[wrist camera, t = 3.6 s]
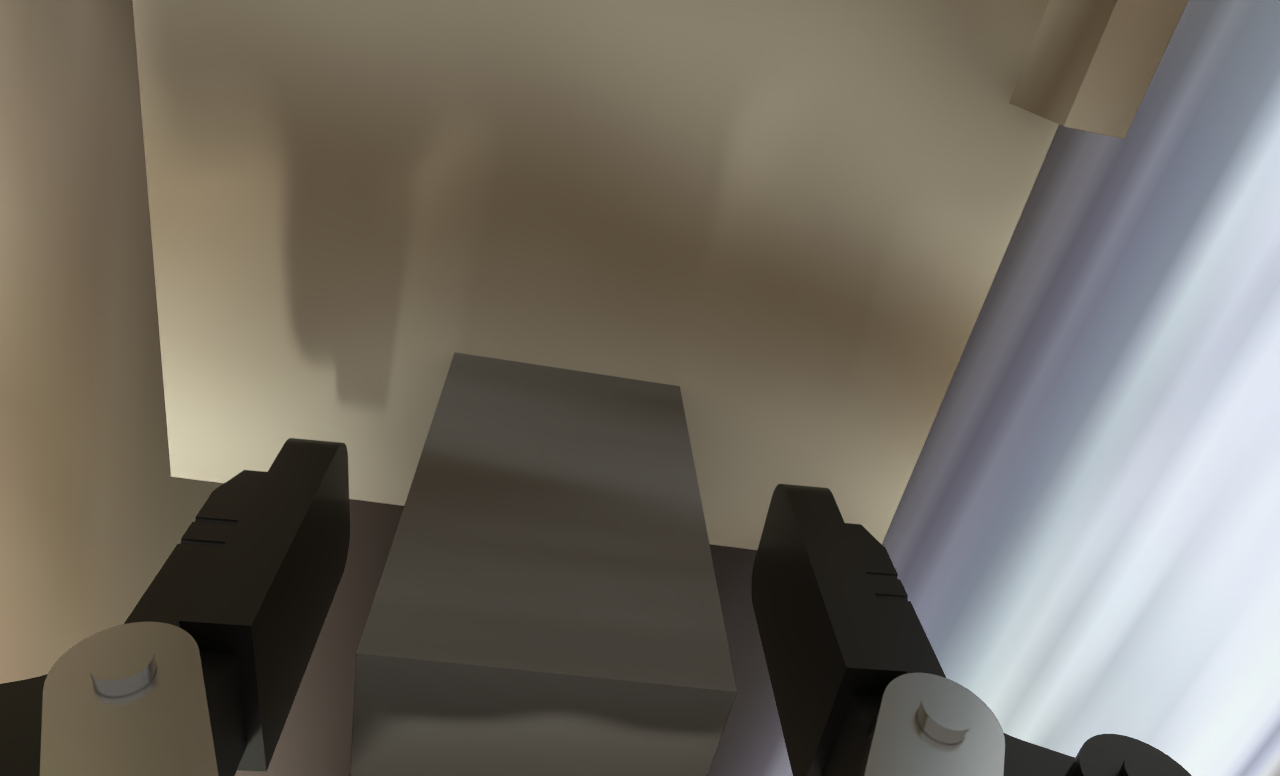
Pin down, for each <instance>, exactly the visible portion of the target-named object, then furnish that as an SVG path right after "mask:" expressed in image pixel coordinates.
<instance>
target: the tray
mask: <svg viewBox="0 0 1280 776" xmlns="http://www.w3.org/2000/svg"><path fill="white" fill-rule="evenodd" d="M132 1H133V14H134V26H135V38H136V50H137V63H138V75H139V87H140V100H141V112H142V124H143V136H144V149H145V161H146V173H147V186H148V198H149V210H150V223H151V235H152V247H153V259H154V272H155V284H156V296H157V309H158V321H159V333H160V345H161V358H162V370H163V382H164V395H165V407H166V419H167V432H168V444H169V456H170V468H171V477H179V478H187V479H195V480H203V481H211V482H219V483H226V482H227V481H229V480H230V479H232V478H233V477H234V476H236V475H237V474H239V473H240V472H242V471H243V470H252V471H263V472H268V470H269V469H270V467H271V465H272V464H273V462H274V460H275V458H276V457H277V455H278V453H279V452H280V450H281V448H282V447H283V445H284V443H285V442H286V441H287V440H288V439H289V438H297V439H308V440H319V441H330V442H340V443H345V445H346V447H347V452H348V474H349V499H354V500H362V501H370V502H378V503H386V504H394V505H401V506H404V509H403V512H402V515H401V518H400V521H399V524H398V527H397V530H396V533H395V536H394V539H393V542H392V545H391V548H390V551H389V554H388V557H387V561H386V564H385V567H384V570H383V573H382V576H381V579H380V582H379V585H378V588H377V591H376V594H375V597H374V600H373V603H372V606H371V609H370V613H369V616H368V619H367V622H366V625H365V628H364V631H363V634H362V637H361V640H360V643H359V646H358V649H357V652H356V668H355V687H354V707H353V727H352V746H351V766H350V776H707V775H708V772H709V769H710V767H711V764H712V761H713V758H714V755H715V753H716V750H717V747H718V744H719V741H720V739H721V736H722V733H723V730H724V727H725V724H726V722H727V719H728V716H729V713H730V710H731V708H732V705H733V702H734V699H735V696H736V694H737V688H736V683H735V678H734V672H733V667H732V662H731V657H730V651H729V646H728V641H727V635H726V630H725V625H724V619H723V614H722V609H721V603H720V598H719V593H718V587H717V582H716V577H715V571H714V566H713V561H712V555H711V550H710V545H709V544H711V545H719V546H727V547H735V548H743V549H751V550H758V547H759V543H760V539H761V535H762V532H763V528H764V524H765V520H766V517H767V513H768V509H769V506H770V502H771V498H772V495H773V492H774V490H775V488H776V486H777V485H778V484H789V485H800V486H811V487H822V488H828V489H830V491H831V492H832V494H833V496H834V499H835V501H836V503H837V506H838V508H839V510H840V513H841V515H842V518H843V520H844V522H845V523H851V524H861V525H862V526H863V527H864V528H865V529H866V530H867V531H868V532H869V533H870V534H871V535H872V536H873V537H874V538H875V539H876V540H877V541H878V542H879V543H880V544H881V545H882V543H883V540H884V538H885V536H886V533H887V531H888V529H889V526H890V524H891V521H892V519H893V517H894V514H895V512H896V510H897V507H898V505H899V502H900V500H901V498H902V495H903V493H904V491H905V488H906V486H907V484H908V481H909V479H910V476H911V474H912V472H913V469H914V467H915V465H916V462H917V460H918V457H919V455H920V453H921V450H922V448H923V446H924V443H925V441H926V439H927V436H928V434H929V431H930V429H931V427H932V424H933V422H934V420H935V417H936V415H937V412H938V410H939V408H940V405H941V403H942V401H943V398H944V396H945V393H946V391H947V389H948V386H949V384H950V382H951V379H952V377H953V375H954V372H955V370H956V367H957V365H958V363H959V360H960V358H961V356H962V353H963V351H964V348H965V346H966V344H967V341H968V339H969V337H970V334H971V332H972V330H973V327H974V325H975V322H976V320H977V318H978V315H979V313H980V311H981V308H982V306H983V303H984V301H985V299H986V296H987V294H988V292H989V289H990V287H991V285H992V282H993V280H994V277H995V275H996V273H997V270H998V268H999V266H1000V263H1001V261H1002V258H1003V256H1004V254H1005V251H1006V249H1007V247H1008V244H1009V242H1010V239H1011V237H1012V235H1013V232H1014V230H1015V228H1016V225H1017V223H1018V221H1019V218H1020V216H1021V213H1022V211H1023V209H1024V206H1025V204H1026V202H1027V199H1028V197H1029V194H1030V192H1031V190H1032V187H1033V185H1034V183H1035V180H1036V178H1037V176H1038V173H1039V171H1040V168H1041V166H1042V164H1043V161H1044V159H1045V157H1046V154H1047V152H1048V149H1049V147H1050V145H1051V142H1052V140H1053V138H1054V135H1055V133H1056V131H1057V128H1058V126H1059V124H1060V125H1062V126H1065V127H1069V128H1074V129H1079V130H1084V131H1089V132H1094V133H1098V134H1103V135H1108V136H1113V137H1118V138H1122V139H1125V137H1126V134H1127V132H1128V130H1129V128H1130V126H1131V124H1132V121H1133V119H1134V117H1135V115H1136V113H1137V111H1138V108H1139V106H1140V104H1141V102H1142V100H1143V98H1144V95H1145V93H1146V91H1147V89H1148V87H1149V85H1150V82H1151V80H1152V78H1153V76H1154V74H1155V72H1156V69H1157V67H1158V65H1159V63H1160V61H1161V59H1162V56H1163V54H1164V52H1165V50H1166V48H1167V46H1168V43H1169V41H1170V39H1171V37H1172V35H1173V33H1174V30H1175V28H1176V26H1177V24H1178V22H1179V20H1180V17H1181V15H1182V13H1183V11H1184V9H1185V7H1186V4H1187V2H1188V0H132Z"/></svg>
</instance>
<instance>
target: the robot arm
mask: <svg viewBox="0 0 1280 776" xmlns="http://www.w3.org/2000/svg"><path fill="white" fill-rule="evenodd" d="M349 539H350V511H349V474H348V452H347V447H346V445H345V443H340V442H330V441H319V440H308V439H297V438H289V439H288V440H287V441H286V442H285V443H284V445H283V447H282V448H281V450H280V452H279V453H278V455H277V457H276V458H275V460H274V462H273V464H272V465H271V467H270V469H269V470H268V472H263V471H252V470H243V471H242V472H240V473H239V474H237V475H236V476H234V477H233V478H232V479H230V480H229V481H227V482H226V483H224V484H223V485H221V486H220V487H218V488H217V489H215V490H214V491H213V492H212V494H211V495H210V497H209V498H208V500H207V501H206V503H205V504H204V506H203V507H202V509H201V510H200V512H199V513H198V514H197V516H196V521H195V522H192V523H191V525H190V526H189V528H188V529H187V531H186V532H185V534H184V535H183V537H182V538H181V544H177V546H176V547H175V549H174V550H173V552H172V553H171V555H170V556H169V558H168V559H167V561H166V562H165V564H164V565H163V567H162V568H161V570H160V571H159V573H158V574H157V576H156V577H155V579H154V580H153V582H152V583H151V585H150V586H149V587H148V589H147V590H146V592H145V593H144V595H143V596H142V598H141V599H140V601H139V602H138V604H137V605H136V607H135V608H134V610H133V611H132V613H131V614H130V616H129V617H128V619H127V620H126V622H125V623H124V624H123V625H119V626H115V627H112V628H108V629H106V630H103V631H101V632H98V633H96V634H94V635H92V636H90V637H88V638H86V639H84V640H82V641H81V642H79V643H78V644H76V645H75V646H73V647H72V648H71V649H69V650H68V651H67V652H66V653H64V654H63V655H62V656H61V657H60V658H59V659H58V661H57V662H56V663H55V664H54V665H53V667H52V668H51V670H50V671H49V673H48V674H46V675H43V676H40V677H35V678H31V679H26V680H21V681H15V682H10V683H4V684H0V776H234V775H235V773H236V771H237V770H245V771H267V769H268V766H269V763H270V761H271V758H272V756H273V753H274V751H275V748H276V745H277V743H278V740H279V738H280V735H281V732H282V730H283V727H284V725H285V722H286V719H287V717H288V714H289V712H290V709H291V706H292V704H293V701H294V699H295V696H296V694H297V691H298V688H299V686H300V683H301V681H302V678H303V675H304V673H305V670H306V668H307V665H308V662H309V660H310V657H311V655H312V652H313V649H314V647H315V644H316V642H317V639H318V637H319V634H320V631H321V629H322V626H323V624H324V621H325V618H326V616H327V613H328V611H329V608H330V605H331V603H332V600H333V598H334V595H335V592H336V590H337V587H338V585H339V582H340V580H341V577H342V574H343V571H344V568H345V564H346V560H347V554H348V548H349ZM897 575H898V574H897V572H896V570H895V568H894V566H893V564H892V561H891V559H890V557H889V555H888V553H887V551H886V549H885V547H884V546H882V545H881V544H880V543H879V542H878V541H877V540H876V539H875V538H874V537H873V536H872V535H871V534H870V533H869V532H868V531H867V530H866V529H865V528H864V527H863V526H862V525H861V524H851V523H845V522H844V520H843V518H842V515H841V513H840V510H839V508H838V506H837V503H836V501H835V499H834V496H833V494H832V492H831V491H830V489H828V488H822V487H811V486H800V485H789V484H778V485H777V486H776V488H775V490H774V492H773V495H772V498H771V502H770V506H769V509H768V513H767V517H766V520H765V524H764V528H763V532H762V535H761V539H760V543H759V547H758V550H757V554H756V558H755V562H754V566H753V573H752V602H753V607H754V612H755V616H756V620H757V624H758V629H759V633H760V637H761V641H762V646H763V650H764V654H765V658H766V663H767V667H768V671H769V675H770V680H771V684H772V688H773V692H774V697H775V701H776V705H777V709H778V714H779V718H780V722H781V726H782V731H783V735H784V739H785V743H786V748H787V752H788V756H789V760H790V764H791V769H792V773H793V776H1191V774H1190V773H1188V772H1187V771H1186V770H1185V769H1184V768H1183V767H1182V766H1181V765H1180V764H1178V763H1177V762H1176V761H1174V760H1173V759H1172V758H1170V757H1169V756H1168V755H1166V754H1164V753H1163V752H1161V751H1160V750H1158V749H1156V748H1154V747H1152V746H1150V745H1149V744H1146V743H1144V742H1142V741H1139V740H1137V739H1134V738H1130V737H1127V736H1123V735H1117V734H1102V735H1096V736H1094V737H1091V738H1090V739H1088V740H1087V741H1086V742H1085V743H1084V745H1083V746H1082V748H1081V749H1080V751H1079V753H1078V754H1077V756H1076V758H1074V757H1071V756H1068V755H1065V754H1062V753H1059V752H1056V751H1053V750H1050V749H1047V748H1044V747H1041V746H1037V745H1034V744H1031V743H1028V742H1025V741H1022V740H1020V739H1017V738H1014V737H1012V736H1009V735H1007V734H1005V733H1003V730H1002V728H1001V725H1000V723H999V721H998V719H997V718H996V716H995V715H994V713H993V712H992V711H991V710H990V708H989V707H988V706H987V705H986V704H985V703H984V702H983V701H982V700H981V699H980V698H979V697H978V696H976V695H975V694H974V693H972V692H971V691H970V690H968V689H967V688H965V687H963V686H962V685H960V684H958V683H956V682H954V681H952V680H950V679H947V678H946V676H945V674H944V672H943V670H942V668H941V666H940V664H939V662H938V659H937V657H936V655H935V653H934V651H933V649H932V647H931V644H930V642H929V640H928V638H927V636H926V634H925V632H924V630H923V627H922V625H921V623H920V621H919V619H918V617H917V615H916V613H915V610H914V608H913V606H912V604H911V602H910V601H907V597H908V596H907V593H906V591H905V589H904V587H903V585H902V583H901V581H900V580H898V579H897Z"/></svg>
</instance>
